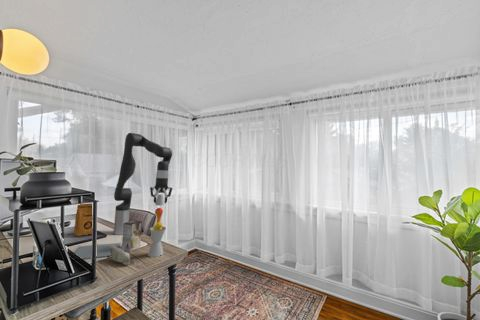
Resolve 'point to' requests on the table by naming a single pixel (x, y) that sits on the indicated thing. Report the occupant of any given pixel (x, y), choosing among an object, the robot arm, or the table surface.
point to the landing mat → (102, 250)
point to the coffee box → (131, 235)
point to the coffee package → (83, 220)
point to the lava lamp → (157, 230)
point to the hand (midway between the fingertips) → (160, 203)
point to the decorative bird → (119, 255)
